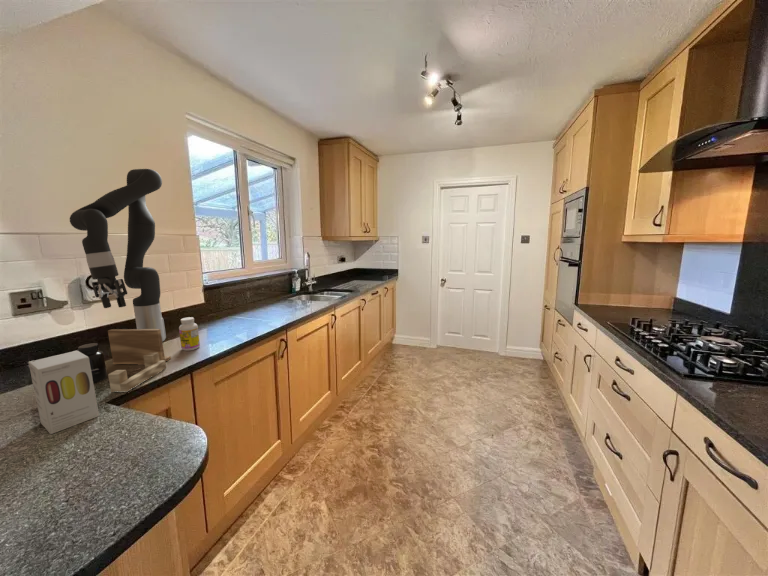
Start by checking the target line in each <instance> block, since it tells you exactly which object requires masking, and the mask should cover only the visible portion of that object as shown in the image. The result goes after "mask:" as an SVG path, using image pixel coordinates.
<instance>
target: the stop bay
mask: <svg viewBox="0 0 768 576" xmlns="http://www.w3.org/2000/svg"><path fill="white" fill-rule="evenodd" d="M144 363H145V364H144V369H142V370H141V371H139V372H137V373H135V374H134V375H132V376H130V377H129V378H128V374H127V370H126V369H116V370H114V371H112V372H109V373H107V377H108V381H109V386H110V391H111V392H114V391H128V390H129V389H131V388H133V387H135V386H136V385H138V384H139V383H141V382H143V381H144V380H146V379H148V378H150V377H151V376H153V377H155V376H156V375H155V374H157V373H158V372H160V371H161V370H163V369H164V370H166V369H167V365H166V362H165V360H161V361H159V354H158V353H148V354H146V355H144ZM165 368H166V369H165ZM164 370H163V371H164ZM161 372H162V371H161ZM161 372H160V373H161ZM158 374H159V373H158ZM158 374H157V375H158ZM154 375H155V376H154ZM150 379H151V378H150Z"/></svg>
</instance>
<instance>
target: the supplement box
mask: <svg viewBox="0 0 768 576" xmlns="http://www.w3.org/2000/svg"><path fill="white" fill-rule="evenodd" d="M28 367H29V372H30V375H31V381H32V386H33V391H34V396H35V401H36V406H37V410H38V415H39V421H40V424H41V425H42V426H43V427H44V428H45V430H46V431H47V432H48V433H49V434H50V435H53V434H55V433H57V432H61V431H63V430H65V429H68V428H69V429H70V428H71V427H74V426H76V425H79V424H81V423H84V422H87V421H90V420H92V419H95V418H97V417H99V416H100V415H99V408H98V404H97V403H98V402H97V396H96V391H95V390H96V389H95V385H94V384H95V383H93V379H92V373H91V367H90V362H89V357H88V356H86V355H84V354H82V353H81V352H79V351H78V349H77V350H73V351H69V352H65V353H61V354H57V355H52V356H48V357H47V356H46V357H44V358H39V359H36V360H34V359H33V360H31V361H30V360H29V361H28Z"/></svg>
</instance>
